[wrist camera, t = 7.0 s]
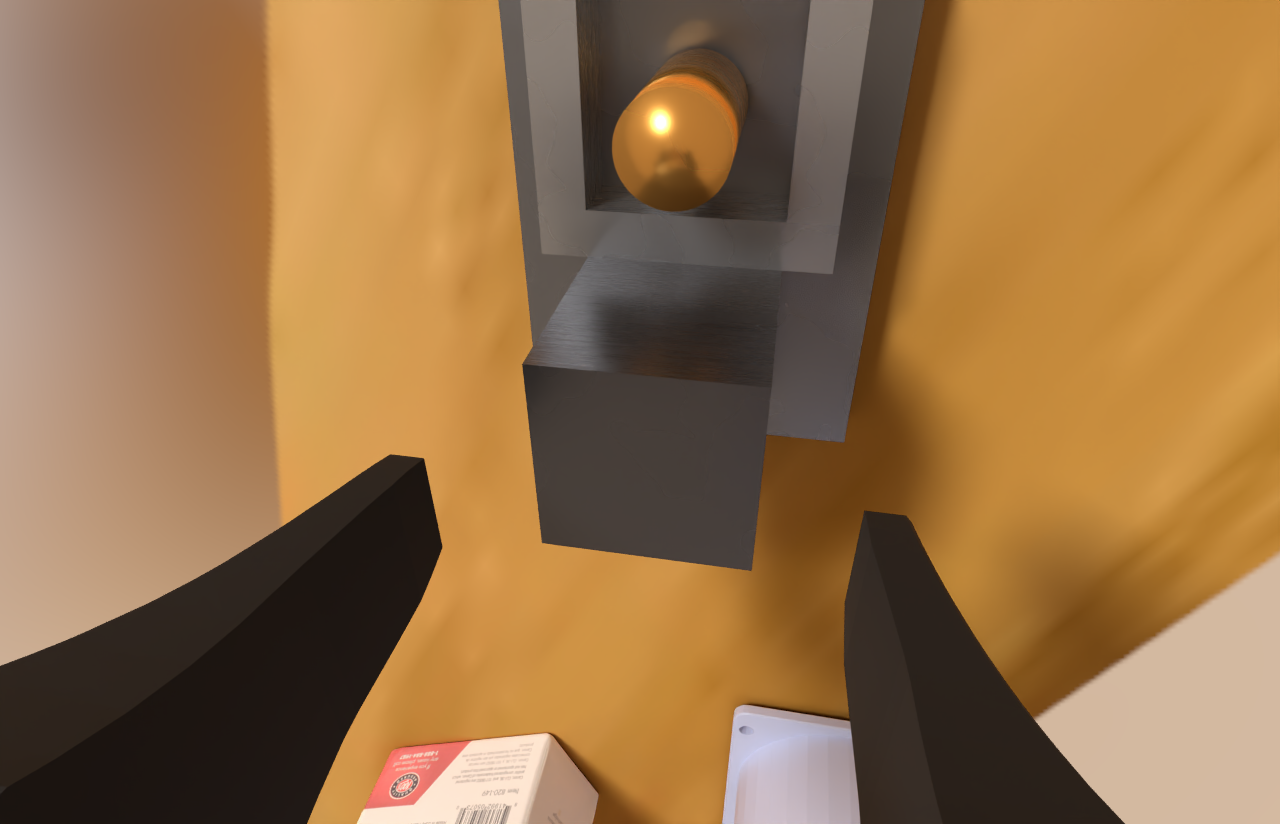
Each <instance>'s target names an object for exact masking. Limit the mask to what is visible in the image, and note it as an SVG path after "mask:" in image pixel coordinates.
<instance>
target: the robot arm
mask: <svg viewBox="0 0 1280 824" xmlns="http://www.w3.org/2000/svg"><path fill="white" fill-rule="evenodd" d="M441 550H442V542H441V538H440V533H439V528H438V523H437V519H436V514H435V509H434V504H433V499H432V495H431V490H430V485H429V480H428V476H427V471H426V466H425V461H424V458H416V457H408V456H400V455H391V454H390V455H389V456H387V457H385V458H384V459H382V460H381V461H379V462H377V463H376V464H374V465H373V466H371V467H370V468H368V469H367V470H365V471H364V472H362V473H361V474H359V475H358V476H356V477H355V478H353V479H352V480H351V481H349V482H348V483H346V484H345V485H343V486H342V487H340V488H339V489H337V490H336V491H335V492H333V493H332V494H330V495H329V496H327V497H326V498H324V499H323V500H321V501H320V502H318V503H317V504H315V505H314V506H312V507H311V508H309V509H308V510H306V511H305V512H303V513H302V514H300V515H299V516H297V517H296V518H294V519H293V520H291V521H290V522H289V523H287V524H286V525H284V526H282V527H281V528H279V529H278V530H276V531H274V532H273V533H271V534H270V535H268V536H266V537H265V538H263V539H262V540H260V541H259V542H257V543H255V544H253V545H252V546H251V547H249V548H247V549H245V550H244V551H242V552H241V553H239V554H237V555H236V556H234V557H232V558H231V559H229V560H228V561H226V562H224V563H223V564H221V565H219V566H217V567H216V568H214V569H212V570H210V571H209V572H207V573H205V574H203V575H201V576H200V577H198V578H196V579H194V580H192V581H190V582H189V583H187V584H185V585H183V586H181V587H179V588H177V589H175V590H173V591H171V592H169V593H167V594H165V595H164V596H162V597H160V598H158V599H156V600H154V601H152V602H150V603H148V604H146V605H144V606H142V607H139V608H137V609H135V610H133V611H130V612H128V613H126V614H124V615H122V616H120V617H118V618H115V619H113V620H111V621H108V622H106V623H104V624H102V625H100V626H97V627H95V628H93V629H91V630H89V631H86V632H84V633H82V634H80V635H77V636H75V637H73V638H70V639H68V640H66V641H63V642H61V643H58V644H56V645H54V646H51V647H48V648H46V649H43V650H41V651H38V652H36V653H34V654H31V655H28V656H25V657H23V658H20V659H17V660H15V661H12V662H9V663H7V664H4V665H1V666H0V824H307V822H308V820H309V818H310V815H311V813H312V810H313V808H314V806H315V803H316V801H317V798H318V796H319V794H320V791H321V789H322V787H323V785H324V782H325V780H326V778H327V776H328V773H329V771H330V769H331V767H332V764H333V762H334V760H335V758H336V755H337V753H338V751H339V749H340V746H341V744H342V742H343V740H344V738H345V736H346V734H347V732H348V730H349V728H350V726H351V724H352V723H353V721H354V719H355V717H356V715H357V713H358V711H359V709H360V708H361V706H362V704H363V702H364V701H365V699H366V697H367V695H368V694H369V692H370V690H371V688H372V687H373V685H374V683H375V681H376V680H377V678H378V676H379V674H380V673H381V671H382V669H383V668H384V666H385V664H386V662H387V661H388V659H389V657H390V655H391V654H392V652H393V650H394V648H395V647H396V645H397V643H398V641H399V640H400V638H401V636H402V634H403V632H404V631H405V629H406V627H407V625H408V623H409V622H410V620H411V618H412V616H413V615H414V613H415V611H416V609H417V607H418V605H419V603H420V602H421V600H422V597H423V595H424V593H425V590H426V588H427V585H428V583H429V581H430V578H431V576H432V573H433V571H434V568H435V565H436V563H437V560H438V558H439V555H440V552H441ZM844 667H845V677H846V687H847V697H848V706H849V716H850V721H846V720H839V719H833V718H827V717H821V716H815V715H808V714H802V713H796V712H790V711H783V710H777V709H771V708H765V707H758V706H752V705H741V706H739V707H737V708H736V709H735V711H734V719H733V728H732V737H731V747H730V756H729V765H728V775H727V784H726V793H725V803H724V812H723V821H722V824H1125V823H1124V822H1123V821H1122V820H1121V819H1120V818H1119V817H1118V816H1117V815H1116V814H1115V813H1114V812H1113V811H1112V810H1111V809H1110V807H1109V806H1108V805H1107V804H1106V803H1105V802H1104V801H1103V800H1102V799H1101V798H1100V797H1099V796H1098V795H1097V794H1096V793H1095V792H1094V791H1093V789H1092V788H1091V787H1090V786H1089V785H1088V784H1087V783H1086V781H1085V780H1084V779H1083V778H1082V777H1081V776H1080V774H1079V773H1078V772H1077V771H1076V770H1075V769H1074V767H1073V766H1072V765H1071V764H1070V763H1069V762H1068V761H1067V759H1066V758H1065V757H1064V756H1063V755H1062V754H1061V752H1060V751H1059V750H1058V749H1057V748H1056V746H1055V745H1054V744H1053V743H1052V741H1051V740H1050V739H1049V738H1048V736H1047V735H1046V734H1045V733H1044V731H1043V730H1042V729H1041V728H1040V726H1039V725H1038V724H1037V723H1036V721H1035V720H1034V719H1033V718H1032V716H1031V715H1030V714H1029V712H1028V711H1027V710H1026V708H1025V707H1024V706H1023V705H1022V703H1021V702H1020V701H1019V699H1018V698H1017V696H1016V695H1015V694H1014V692H1013V691H1012V690H1011V688H1010V687H1009V686H1008V684H1007V683H1006V681H1005V680H1004V678H1003V677H1002V676H1001V674H1000V673H999V671H998V670H997V668H996V667H995V665H994V664H993V663H992V661H991V660H990V658H989V657H988V655H987V654H986V652H985V651H984V649H983V648H982V646H981V645H980V643H979V642H978V640H977V639H976V637H975V636H974V634H973V632H972V631H971V629H970V627H969V626H968V624H967V623H966V621H965V619H964V618H963V616H962V614H961V613H960V611H959V610H958V608H957V606H956V605H955V603H954V602H953V600H952V598H951V596H950V595H949V593H948V591H947V589H946V588H945V586H944V584H943V582H942V581H941V579H940V577H939V575H938V573H937V572H936V570H935V568H934V566H933V564H932V562H931V560H930V559H929V557H928V555H927V553H926V551H925V549H924V547H923V545H922V543H921V541H920V539H919V537H918V535H917V533H916V531H915V529H914V526H913V524H912V522H911V521H910V520H909V519H908V518H907V516H904V515H896V514H887V513H879V512H871V511H864V515H863V520H862V525H861V529H860V534H859V539H858V543H857V548H856V553H855V557H854V562H853V567H852V571H851V576H850V581H849V585H848V590H847V595H846V599H845V621H844Z"/></svg>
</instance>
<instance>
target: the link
mask: <svg viewBox="0 0 1280 824" xmlns="http://www.w3.org/2000/svg"><path fill="white" fill-rule="evenodd" d="M520 2H521V14H522V25H523V37H524V49H525V61H526V72H527V84H528V96H529V108H530V120H531V131H532V143H533V155H534V167H535V178H536V190H537V202H538V214H539V226H540V237H541V249H542V254H553V255H567V256H581V257H588V258H587V259H586V261H585V263H584V264H583V266H582V268H581V269H580V271H579V272H578V274H577V276H576V277H575V279H574V281H573V282H572V284H571V285H570V287H569V289H568V290H567V292H566V294H565V295H564V297H563V299H562V300H561V302H560V303H559V305H558V307H557V308H556V310H555V312H554V313H553V315H552V317H551V318H550V320H549V321H548V323H547V325H546V326H545V328H544V330H543V331H542V333H541V335H540V336H539V338H538V339H537V341H536V343H535V344H534V346H533V348H532V349H531V351H530V352H529V354H528V356H527V357H526V359H525V361H524V362H523V364H522V365H523V374H524V384H525V393H526V402H527V411H528V420H529V429H530V438H531V447H532V456H533V465H534V474H535V483H536V493H537V502H538V511H539V520H540V529H541V538H542V543H546V544H554V545H561V546H569V547H576V548H584V549H591V550H599V551H606V552H614V553H621V554H629V555H636V556H644V557H652V558H659V559H667V560H674V561H682V562H689V563H697V564H704V565H712V566H719V567H727V568H734V569H742V570H749V571H752V562H753V553H754V544H755V534H756V525H757V516H758V507H759V498H760V489H761V480H762V471H763V461H764V452H765V443H766V434H767V425H768V416H769V407H770V398H771V388H772V377H773V366H774V354H775V343H776V331H777V319H778V308H779V296H780V285H781V273H782V271H794V272H808V273H822V274H833V269H834V262H835V255H836V249H837V242H838V235H839V229H840V222H841V215H842V208H843V202H844V195H845V188H846V182H847V175H848V168H849V161H850V155H851V148H852V141H853V135H854V128H855V121H856V114H857V108H858V101H859V94H860V88H861V81H862V74H863V68H864V61H865V54H866V47H867V41H868V34H869V27H870V21H871V14H872V7H873V0H810V5H809V15H808V24H807V33H806V43H805V52H804V61H803V71H802V80H801V89H800V99H799V108H798V118H797V127H796V136H795V146H794V155H793V164H792V174H791V183H790V192H789V195H775V194H756V193H738V192H720V191H718V192H717V193H716V194H715V195H714V196H713V197H712V198H711V199H710V200H708V201H707V202H706V203H704V204H702V205H700V206H698V207H696V208H693V209H690V210H686V211H679V212H669V211H662V210H658V209H655V208H652V207H650V206H648V205H646V204H644V203H642V202H641V201H639V200H638V199H637V198H635V197H634V196H633V195H632V194H631V193H630V192H629V191H628V190H627V188H626V187H625V186H612V185H604V183H603V153H602V124H601V94H600V65H599V35H598V6H597V0H520Z"/></svg>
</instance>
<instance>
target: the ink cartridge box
mask: <svg viewBox="0 0 1280 824" xmlns="http://www.w3.org/2000/svg"><path fill="white" fill-rule="evenodd" d="M598 797H599V794H598V793H597V792H596V790H595V789H594V788H593V787H592V785H591V784H590V783H589V782H588V780H587V779H586V778H585V776H584V775H583V774H582V773H581V771H580V770H579V769H578V768H577V766H576V765H575V764H574V763H573V762H572V760H571V759H570V758H569V756H568V755H567V754H566V753H565V751H564V750H563V749H562V747H561V746H560V745H559V744H558V742H557V741H556V740H555V738H554V737H553V736H552V735H550V734H548V733H541V734H532V735H523V736H512V737H501V738H491V739H481V740H472V741H462V742H453V743H443V744H431V745H423V746H413V747H403V748H399V749H395V750H393V751H392V752H391V754H390V756H389V758H388V760H387V762H386V764H385V766H384V768H383V770H382V772H381V774H380V776H379V779H378V781H377V783H376V785H375V787H374V789H373V791H372V793H371V795H370V797H369V800H368V802H367V803H366V806H365V808H364V810H363V812H362V813H361V816H360V818H359V820H358V822H357V824H593V820H594V816H595V811H596V806H597V801H598Z"/></svg>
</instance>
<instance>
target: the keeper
mask: <svg viewBox="0 0 1280 824" xmlns="http://www.w3.org/2000/svg"><path fill="white" fill-rule="evenodd" d="M924 2H925V0H873V7H872V14H871V21H870V27H869V34H868V41H867V47H866V54H865V61H864V68H863V74H862V81H861V88H860V94H859V101H858V108H857V114H856V121H855V128H854V135H853V141H852V148H851V155H850V161H849V168H848V175H847V182H846V188H845V195H844V202H843V208H842V215H841V222H840V229H839V235H838V242H837V249H836V255H835V262H834V269H833V274H822V273H808V272H794V271H782V273H781V285H780V296H779V308H778V319H777V331H776V343H775V354H774V366H773V377H772V388H771V398H770V407H769V416H768V425H767V435H777V436H786V437H796V438H805V439H815V440H824V441H834V442H844V440H845V434H846V429H847V423H848V418H849V412H850V407H851V402H852V396H853V391H854V385H855V380H856V374H857V369H858V363H859V358H860V352H861V347H862V341H863V336H864V330H865V325H866V319H867V314H868V309H869V303H870V298H871V292H872V287H873V281H874V276H875V270H876V265H877V259H878V254H879V248H880V243H881V237H882V232H883V226H884V221H885V216H886V210H887V205H888V199H889V194H890V188H891V183H892V177H893V172H894V166H895V161H896V155H897V150H898V144H899V139H900V134H901V128H902V123H903V117H904V112H905V106H906V101H907V95H908V90H909V84H910V79H911V73H912V68H913V62H914V57H915V51H916V46H917V41H918V35H919V30H920V24H921V19H922V13H923V8H924ZM809 5H810V0H597V6H598V35H599V65H600V94H601V124H602V153H603V183H604V185H612V186H625V187H626V188H627V190H628V191H629V192H630V193H631V194H632V195H633V196H634V197H635V198H637V199H638V200H639V201H641V202H642V203H644V204H646V205H648V206H650V207H652V208H655V209H658V210H662V211H669V212H679V211H686V210H690V209H693V208H696V207H698V206H700V205H702V204H704V203H706V202H707V201H708V200H710V199H711V198H712V197H713V196H714V195H715V194H716V193H717V192H718V191H720V192H738V193H756V194H775V195H789V192H790V183H791V174H792V164H793V155H794V146H795V136H796V127H797V118H798V108H799V99H800V89H801V80H802V71H803V61H804V52H805V43H806V33H807V24H808V15H809ZM499 9H500V19H501V29H502V39H503V50H504V60H505V70H506V80H507V90H508V100H509V110H510V120H511V130H512V140H513V150H514V160H515V170H516V180H517V190H518V200H519V210H520V220H521V231H522V241H523V251H524V261H525V271H526V281H527V291H528V301H529V311H530V321H531V331H532V341H533V346H534V344H535V343H536V341H537V339H538V338H539V336H540V335H541V333H542V331H543V330H544V328H545V326H546V325H547V323H548V321H549V320H550V318H551V317H552V315H553V313H554V312H555V310H556V308H557V307H558V305H559V303H560V302H561V300H562V299H563V297H564V295H565V294H566V292H567V290H568V289H569V287H570V285H571V284H572V282H573V281H574V279H575V277H576V276H577V274H578V272H579V271H580V269H581V268H582V266H583V264H584V263H585V261H586V259H587V258H588V257H581V256H567V255H553V254H542V249H541V237H540V226H539V214H538V202H537V190H536V178H535V167H534V155H533V143H532V131H531V120H530V108H529V96H528V84H527V72H526V61H525V49H524V37H523V25H522V14H521V2H520V0H499Z"/></svg>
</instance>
